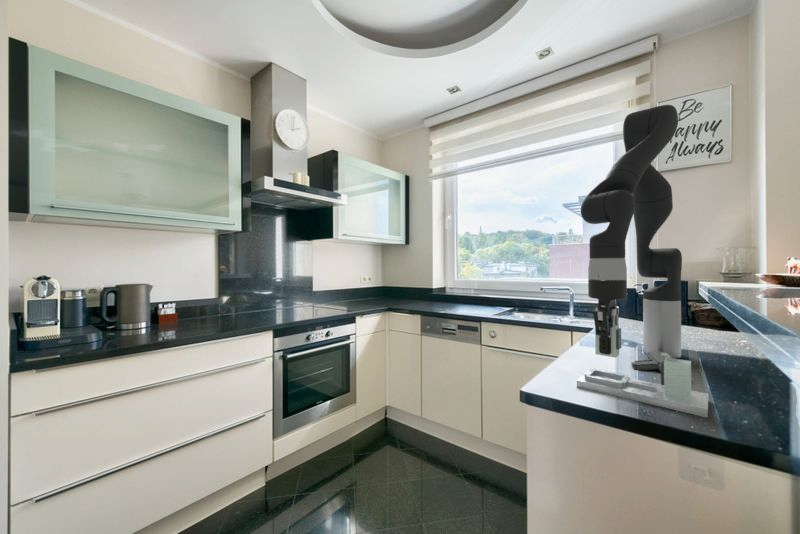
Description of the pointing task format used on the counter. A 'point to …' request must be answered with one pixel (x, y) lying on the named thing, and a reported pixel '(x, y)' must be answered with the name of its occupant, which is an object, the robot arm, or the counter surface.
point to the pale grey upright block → (614, 342)
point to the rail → (652, 387)
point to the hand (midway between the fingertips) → (607, 351)
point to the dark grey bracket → (651, 361)
